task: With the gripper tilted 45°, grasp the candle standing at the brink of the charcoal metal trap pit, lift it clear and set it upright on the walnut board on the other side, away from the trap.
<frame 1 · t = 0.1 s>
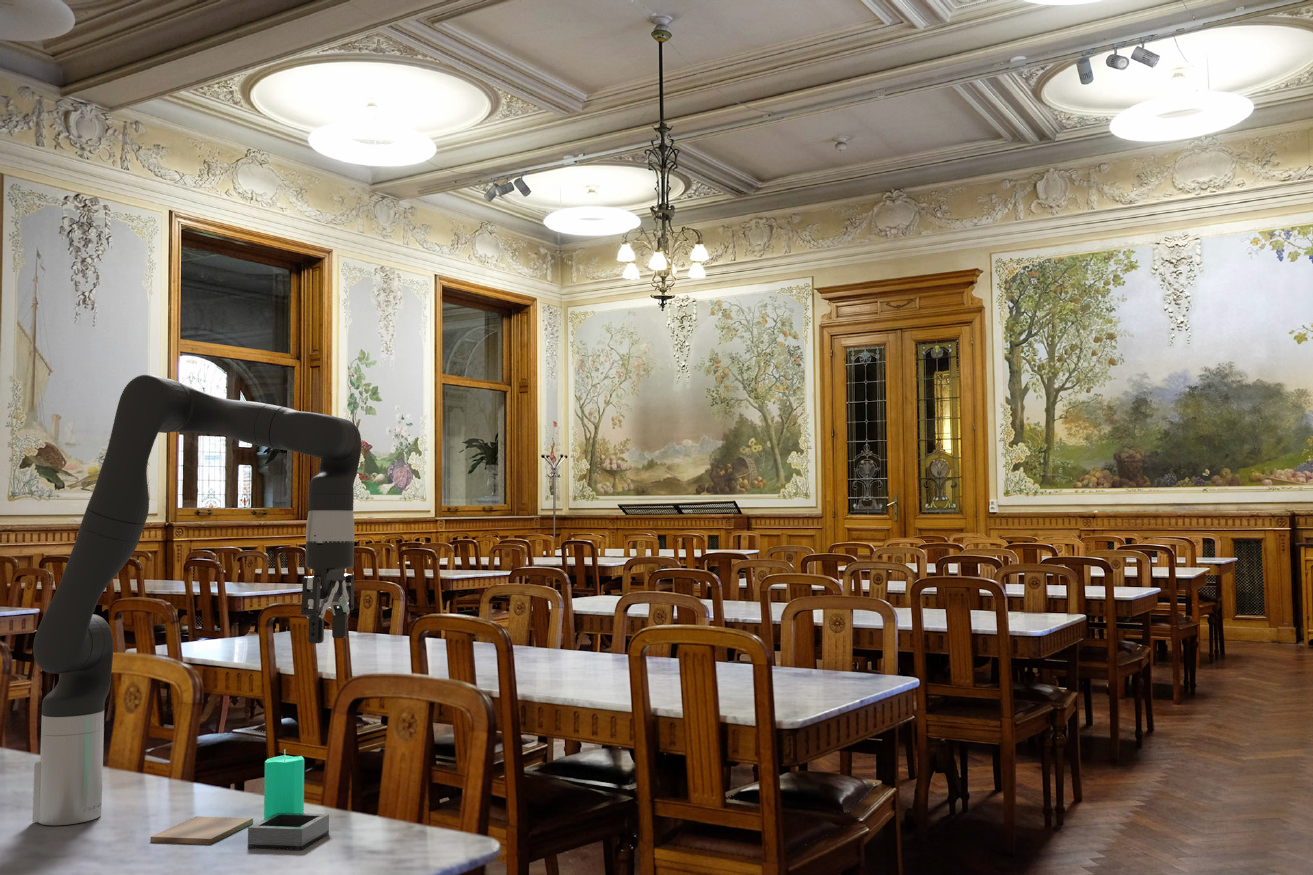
hand: (327, 640, 176), 29 cm above the table, tool pointing down, fingers open, 8 cm apart
trap pit: (289, 840, 166), on the table
candle: (283, 827, 175), on the table
walnut board: (203, 832, 172), on the table
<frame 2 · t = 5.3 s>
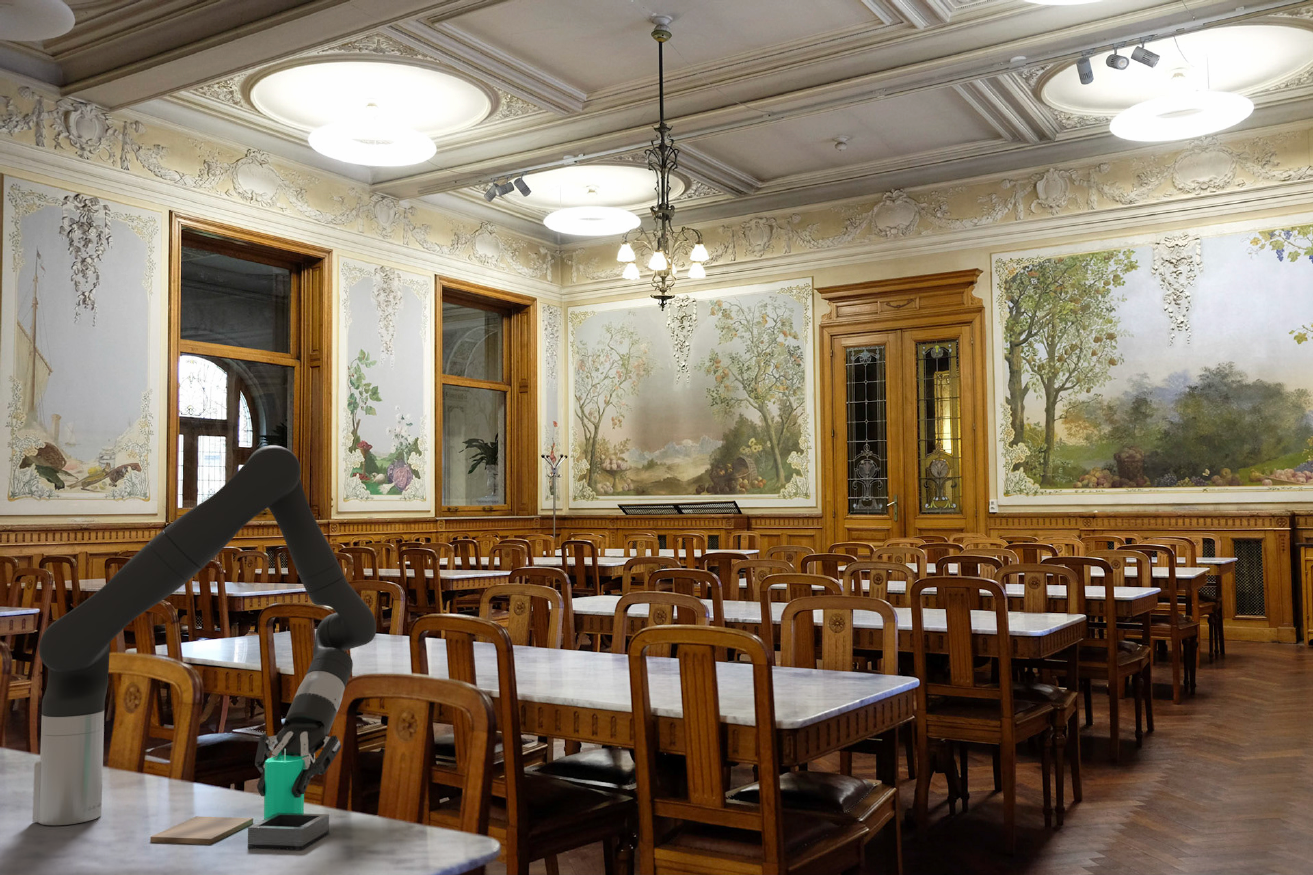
hand: (278, 793, 173), 5 cm above the table, tool tilted 45°, fingers closed on candle, 5 cm apart
candle: (283, 826, 175), on the table, touching gripper
when the fingers open (7 cm above the table, at t = 10.9 s): candle drops 1 cm, resting on walnut board.
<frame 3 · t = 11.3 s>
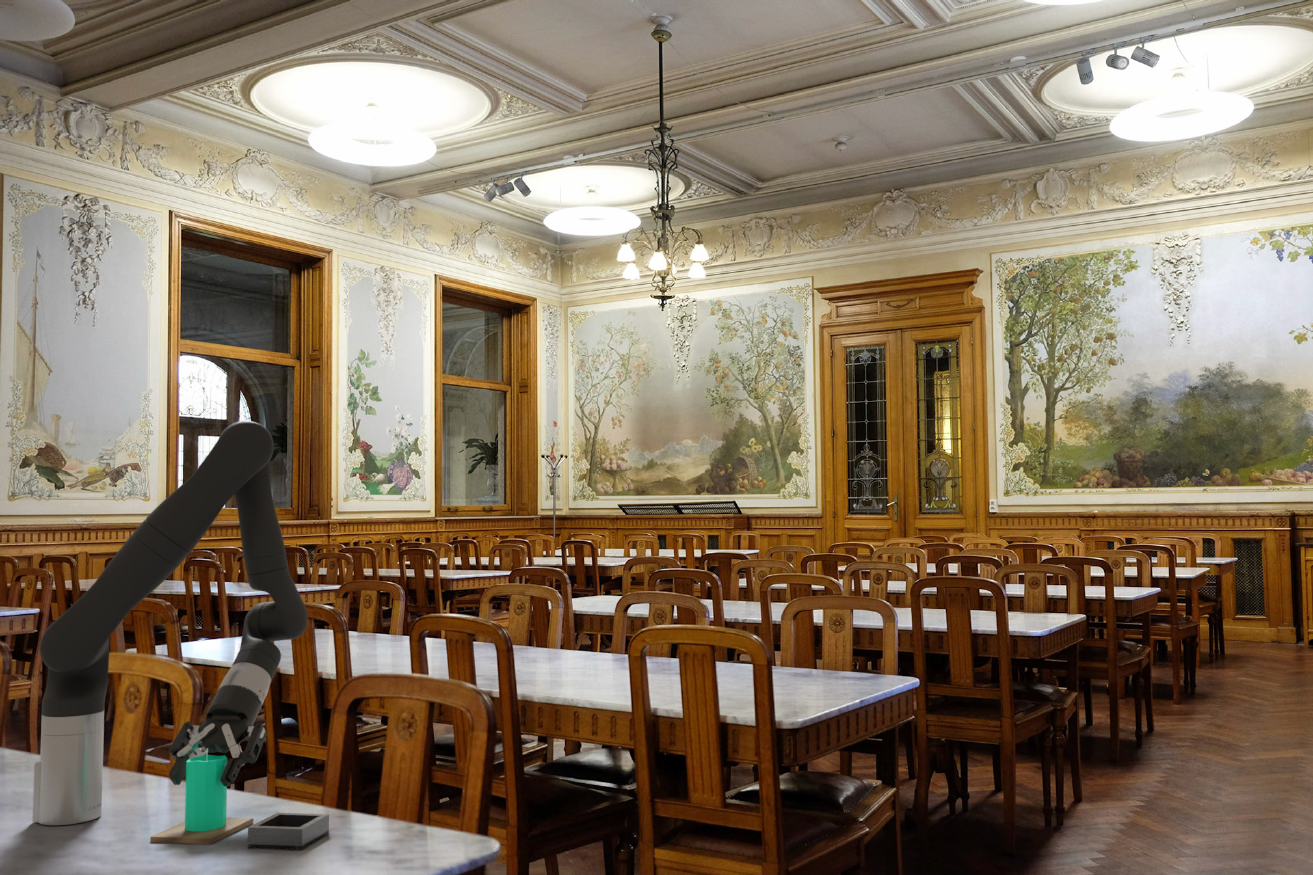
hand: (199, 782, 171), 8 cm above the table, tool tilted 45°, fingers open, 8 cm apart
candle: (205, 827, 172), point 1 cm above the table, touching walnut board
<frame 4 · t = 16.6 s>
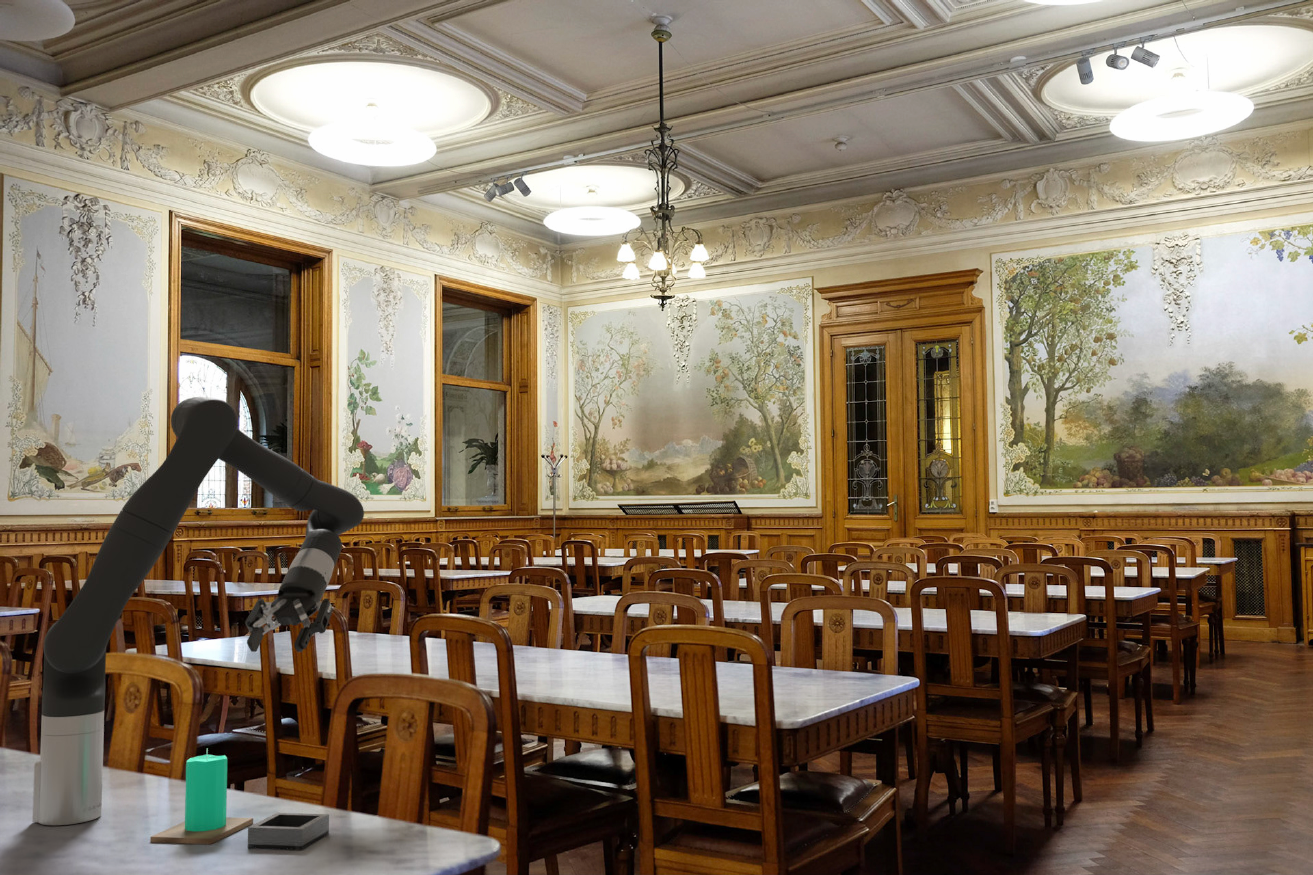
hand: (274, 648, 189), 27 cm above the table, tool tilted 45°, fingers open, 8 cm apart
nothing on the table moved.
at the end: candle inside the target area on the walnut board (0.5 cm from its centre), point 0.6 cm above the walnut board's base; candle tilted 0°; the gripper is holding nothing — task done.
